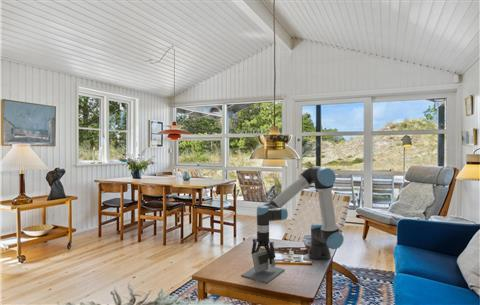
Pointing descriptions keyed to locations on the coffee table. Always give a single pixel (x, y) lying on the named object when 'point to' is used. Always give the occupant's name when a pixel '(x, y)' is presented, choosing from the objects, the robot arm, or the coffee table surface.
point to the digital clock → (261, 261)
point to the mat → (263, 274)
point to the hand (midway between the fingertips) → (263, 267)
